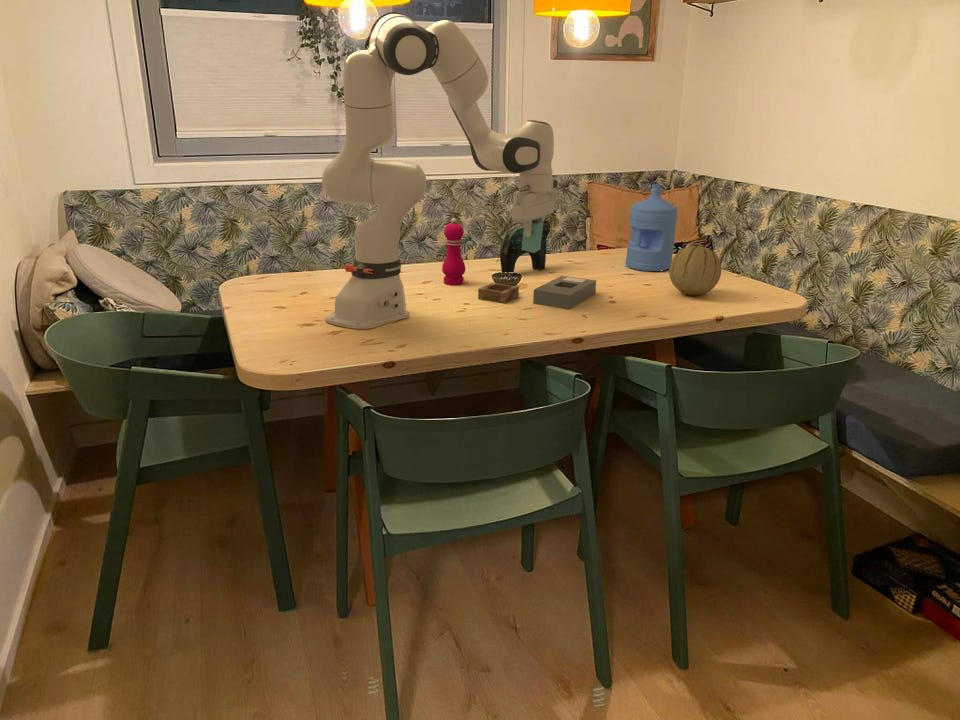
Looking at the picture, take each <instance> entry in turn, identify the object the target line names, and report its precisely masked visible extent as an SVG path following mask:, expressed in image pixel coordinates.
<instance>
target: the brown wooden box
mask: <svg viewBox="0 0 960 720" xmlns="http://www.w3.org/2000/svg"><path fill="white" fill-rule="evenodd" d="M477 290H478V291H477V293H478V294H477V295H478V297H477V299H478V300H482V301H487V302H488V301H489V302H495V303H501V304H506V303H508V302H511V301H513V300H515V299H517V298H519V297H520V296H519V293H520V291H519V290H520V286H516V285H511V284H504V283H497V282H491V283H489V284H486V285H484V286H481V287H479V288H478V289H477Z"/></svg>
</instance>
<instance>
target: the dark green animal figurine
mask: <svg viewBox="0 0 960 720" xmlns="http://www.w3.org/2000/svg"><path fill="white" fill-rule="evenodd" d="M515 225H518V226H515ZM513 226H514V227H513ZM523 227H524V226H523V223H515V222H513V223H512V224H511V225H509V226H508V227H507V230H506V233H505V235H504V237H503V240H502V242H501V245H500V248H499V249H500V250H499V261H500V268H501V269H500V271H501V273H502V272H514V273H515V268H516V263H517V260H518V259H519V257H520V256H522V255H524V254H529V257H530V259H531V266H532V270H536V271H541V270H546V260H547V259H546V257H547V238H548V236H549V234H550V233H551V223H550V221H548V220H547V219H544V222H543V229H542V239H541V248H540V250H538V251H537V252H535V253H532V252H528V251H524V250H521V249H522V238H523Z"/></svg>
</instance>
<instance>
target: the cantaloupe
mask: <svg viewBox="0 0 960 720" xmlns="http://www.w3.org/2000/svg"><path fill="white" fill-rule="evenodd" d="M696 244H697V245H689V246H686V247H684V248H682V249H680V250H679V251H678V252H676V254H675V255H674V256H673V257H672V262H671V265H670V269H669V270H668V271H669V273H668V274H669V279H670V281H671V284H672V285H673V286H674V288H676V289H677V290H678V291H679V292H681V293H682V294H684V295H687V294H688V295H687V296H691V295H692V296H701V295H705V294H707V293H709V292H710V291H712V290H713V289H714V288H715V287H716V286H717V285H718V283H719V281H720V278H721V275H722V264H721V260H720V258H719V257H718V255H717V253H716V252H715V251H714V250H712V249H710V248H708V247H705V246H703V245H702V243H701V242H697V243H696Z"/></svg>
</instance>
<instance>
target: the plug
mask: <svg viewBox="0 0 960 720" xmlns="http://www.w3.org/2000/svg"><path fill="white" fill-rule="evenodd" d="M531 229H532V230H533V235H532V236H530V237H527V236H525V230H524V227H523V238H522V249H521V250H524V251H528V252H532V253H535V252H537V251H538V250H540V248H541V239H542V229H543V221H538V219H535V220H532V224H531Z"/></svg>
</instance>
